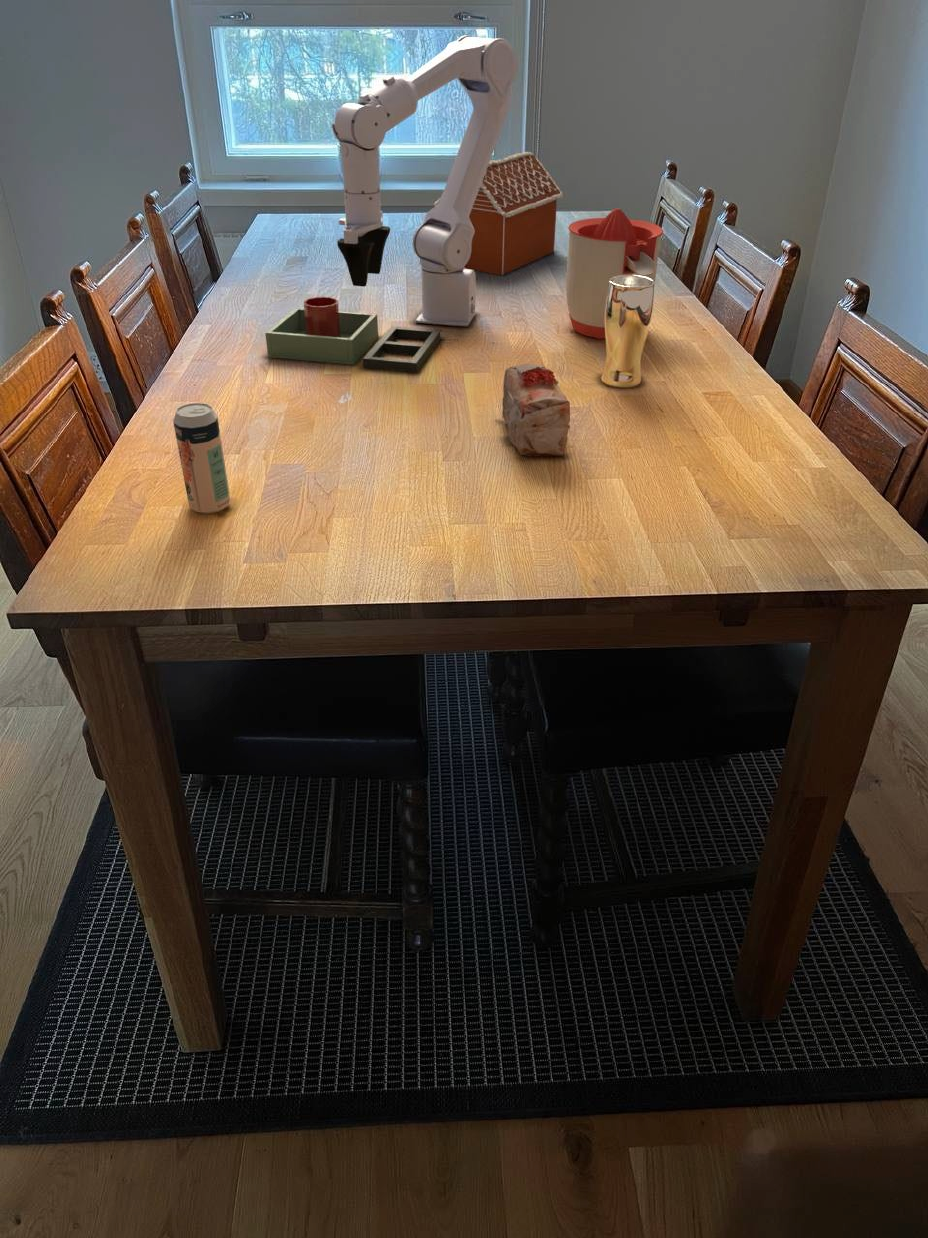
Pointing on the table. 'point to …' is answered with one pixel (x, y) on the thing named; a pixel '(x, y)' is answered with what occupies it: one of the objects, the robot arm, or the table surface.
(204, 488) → the beer can
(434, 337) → the frame
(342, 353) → the basin
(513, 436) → the food item
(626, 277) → the beer glass
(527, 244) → the gingerbread house
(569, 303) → the citrus juicer
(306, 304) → the cup
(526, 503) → the table surface
